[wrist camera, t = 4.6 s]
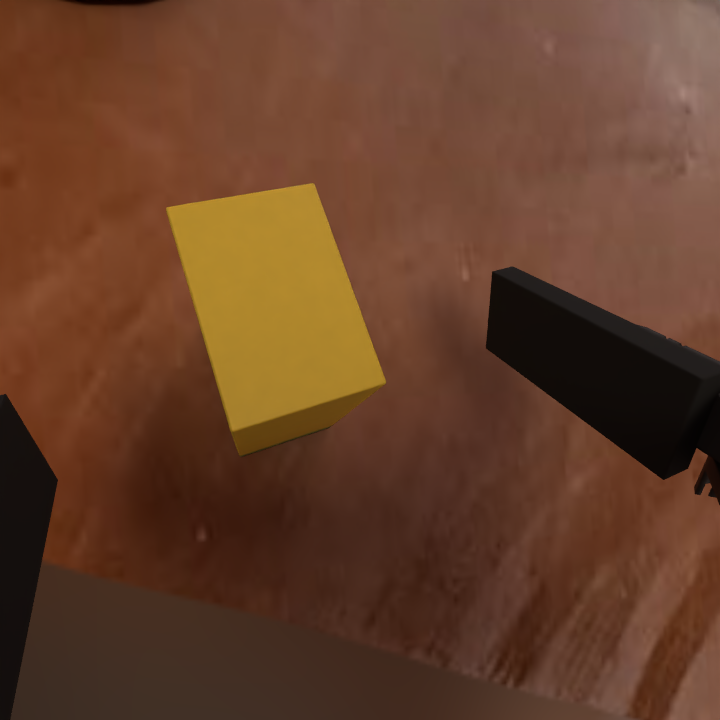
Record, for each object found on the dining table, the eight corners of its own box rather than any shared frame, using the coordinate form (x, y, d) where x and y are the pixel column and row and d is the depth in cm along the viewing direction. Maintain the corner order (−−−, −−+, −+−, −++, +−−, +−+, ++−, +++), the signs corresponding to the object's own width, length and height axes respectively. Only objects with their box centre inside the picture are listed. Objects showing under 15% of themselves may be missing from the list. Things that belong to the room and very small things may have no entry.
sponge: (239, 457, 19) (230, 432, 11) (201, 325, 20) (164, 206, 12) (330, 427, 20) (387, 383, 12) (289, 303, 21) (314, 181, 13)
